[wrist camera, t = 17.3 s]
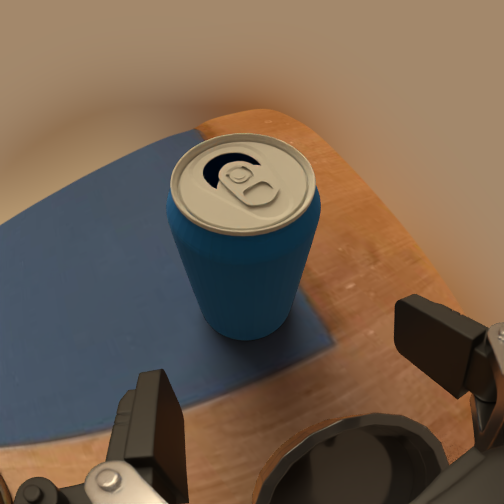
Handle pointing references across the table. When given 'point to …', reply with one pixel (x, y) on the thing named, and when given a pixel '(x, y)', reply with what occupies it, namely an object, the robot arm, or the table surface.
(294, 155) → the beverage can
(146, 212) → the table surface
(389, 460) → the pan
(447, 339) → the robot arm
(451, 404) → the table surface
